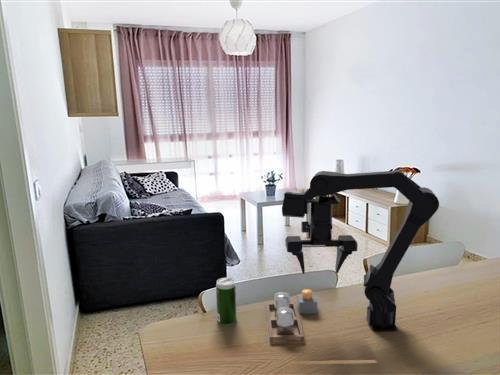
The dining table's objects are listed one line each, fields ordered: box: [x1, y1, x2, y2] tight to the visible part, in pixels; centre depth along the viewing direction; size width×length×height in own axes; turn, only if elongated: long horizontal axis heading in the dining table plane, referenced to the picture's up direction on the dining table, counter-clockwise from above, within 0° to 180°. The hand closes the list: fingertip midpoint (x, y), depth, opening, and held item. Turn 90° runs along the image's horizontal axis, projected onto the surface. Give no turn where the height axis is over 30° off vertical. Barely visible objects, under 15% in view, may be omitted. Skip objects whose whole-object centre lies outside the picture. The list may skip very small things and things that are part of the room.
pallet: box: [265, 301, 306, 345], centre depth 105 cm, size 9×18×2 cm, turn 0°
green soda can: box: [215, 277, 238, 326], centre depth 106 cm, size 5×5×12 cm
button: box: [301, 288, 313, 301], centre depth 111 cm, size 3×3×2 cm
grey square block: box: [296, 293, 318, 315], centre depth 112 cm, size 5×5×4 cm
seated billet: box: [273, 291, 291, 317], centre depth 108 cm, size 4×4×6 cm
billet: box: [277, 307, 294, 335], centre depth 100 cm, size 4×4×6 cm
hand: (319, 273), depth 107 cm, fingers open, 9 cm apart
